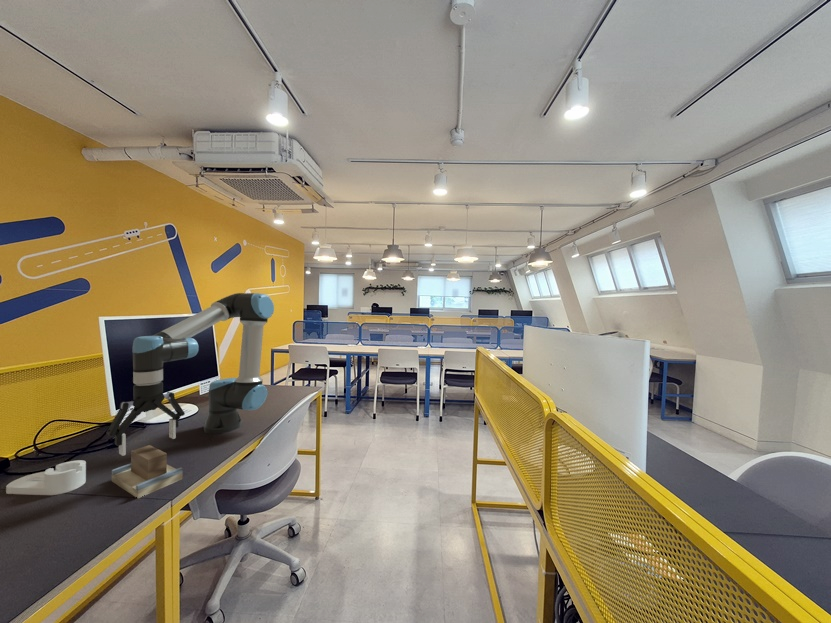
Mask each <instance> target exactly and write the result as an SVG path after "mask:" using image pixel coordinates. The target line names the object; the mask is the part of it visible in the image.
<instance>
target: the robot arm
mask: <svg viewBox="0 0 831 623" xmlns="http://www.w3.org/2000/svg"><path fill="white" fill-rule="evenodd" d="M274 311H275V305H274V302H273V300H272V299H271V297H270V296H269V295H267V294H265V293H260V292H259V293H258V292H252V293H248V292H244V293H243V292H237V293H233V294H229V295H228V296H225V297H223V298H220V299H218V300H216V301H214V302H212V303H211V305H210V307H207V308H205V309H203V310H201V311H200V312H197V313H195V314H193V315H191V316H189V317H188V318H185V319H183V320H181V321H180V322H176V324H173V325H172V326H169V327H167V328H165V329H163V330H161V331H159V332H157V333H155V334H153V335H145V336H144V335H143V336H137V337H135V338H133V342H132V350H131V351H132V367H133V369H132V371H133V372H132V375H133V377H132V382H133V384H134V385H133V387H132V390H133V392H132V393H133V394H132V395H133V398H132V400H131V401H121V402H120V403H119V409H118V411H117V413H116V415H115V417H114V418H113V420H112V422H111V423H110V426H109V427H108V429H107V431H106V435H108V436H110V437H113V436H114V444H115V446H117V447H118V454H119V455H121V456H123V457H124V456H126V455H127V441H126V440H127V438H126V437H127V436H126V433H125V432H126V430H127V429H128V428H129V427H130V425H131V424H132V423H133V422H135V420H136V419H137V418H138V416H140V415H141V414H142V413H147V412H149V411H156V410H157V409H159V410H160V411H162V412H164V413H165V414H166V415H168V416H169V417H171V418H169V419H168V420H169V421H168V422H169V423H168V426H169V427H168V428H169V430H168V432H169V436H168V437H169V438H170V439H172V440H174V439H176V438H177V436H176V435H177V432H176V431H177V428H179V421H180V419H181V417H182V416H185V414H186V413H185V411H184V410H183V409H182V407H181V405H180V404H179V403H178V401H177V400H176V398H175V393H174V392H172V391H167V392H166V393H164V382H163V381H164V363H168V362H175V361H180V360H187V359H191V358H193V357H195V356H197V354H198V353H199V348H200V347H199V344H198V341H197V340H196V339H195V338H192V337H195V336H196V335H198V334H200V333H202V332H203V331H205V330H207V329H209V328H210V327H212V326H214V325H217V323H219V322H225V321H228V320H230V319H233V318H234V319H235V318H239V322H240V323H241V324H242V331H241V332H242V334H241V347H240V357H239V370H238V377H229V378H221V379H218V380H214V381H211V383H209V385H208V386H209V387H208V415H207V418H206V419H205V423H204V425H203V432H204V433H206V434H208V435H209V434H210V435H218V434H219V435H220V434H225V433H229V432H232V431H235V430H237V429H239V428H240V427H241V426H242V419H241V415H240V413H239V410H244V411H256V410H258V409H259V408H261V407H262V406H263V404H264V403H265V402H266V401H267V400H266V399H267V396H268V389H267V387H266V386H265V385H264V384H263V378H262V377H261V376H260V372H261V363H262V362H261V361H262V350H263V339H264V338H263V336H264V326H265V325H266V324H267V323H268V319H269V318H271V317H273V315H274ZM165 399H166V400H167V401H168V403H169V404H170V405H171V407H172V408H173V409H174V411H175V412H174V411H173V410H172V409H170V408H168V407H167V406H166V405H165V404H163V403H162V402H163V401H164V400H165ZM132 406H133V408H132V410H131V411H130V413H129V414H128V415H126V414H127V412H128V410H129V409H130V408H131V407H132ZM238 409H239V410H238ZM125 416H127V417H125Z"/></svg>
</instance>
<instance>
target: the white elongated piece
mask: <svg viewBox="0 0 831 623" xmlns="http://www.w3.org/2000/svg"><path fill="white" fill-rule="evenodd" d="M86 482H87V462H86V460H81V459H78V460H71V461H70V460H69V461H66V462H61V463H59V464H55V470H54V468H53V467H52V468H51V467H50V468H47V469H45V471H40V472H35V473H32V474H27V475H25V476H21V477H20V478H17V479H14V480H12V481H10V482H9V483H8V484H7V485H6V486H5V487H6V488H5V492H6V493H5V494H6V495H7V494H8V495H12V494H13V495H29V496H30V495H33V496H54V495H55V496H56V495H61V494H65V493H68V492H72V491H74V490H76V489H78V488H80V487H82V486H84V484H86Z"/></svg>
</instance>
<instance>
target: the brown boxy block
mask: <svg viewBox="0 0 831 623" xmlns="http://www.w3.org/2000/svg"><path fill="white" fill-rule="evenodd" d="M167 455H168V454H167V452H165V451H163V450H161V449H158V448H156V447H155V446H152V445H151V444H148V445H144V446H143V447H139V448H135V449H133V450H131V451H130V456H131V457H130V458H131V459H130V463H131V472H133V473H135V474H136V475H138V476H140V477H141V478H143V479H145V480H146V481H148V480H150V479H153V478H155V477H158V476H160V475H163V474H165V473H167V465H168V460H167V459H168V457H167Z"/></svg>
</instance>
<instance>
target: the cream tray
mask: <svg viewBox="0 0 831 623" xmlns="http://www.w3.org/2000/svg"><path fill="white" fill-rule="evenodd" d="M183 473H184V472H183V467H177V468H175V467H173V466H171V465H169V464H167V473H165V474H163V475H160V476H158V477H155V478H153V479H150V480H148V481H146V480H145V479H143V478H141V477H140V476H138V475H136V474H135V473H133V472H131V462H130V463H128V464H125V465H122V466H119V467H117V468H114V469H111V482H112V483H114V484H115V485H117V486H118V487H119V488H121V489H122V490H124V491H126V492H127V493H128V494H130V495H132V496H133V497H135V498H136V497H137V498H136V499H141V498H143V497H145V496H147V495H149V494H152V493H154V492H156V491H159V490H161V489H163V488H166V487H167V486H170V485H172V484H174V483H176V482H179V481H182V480H183V476H184V475H183ZM144 495H145V496H144ZM142 496H143V497H142Z"/></svg>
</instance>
